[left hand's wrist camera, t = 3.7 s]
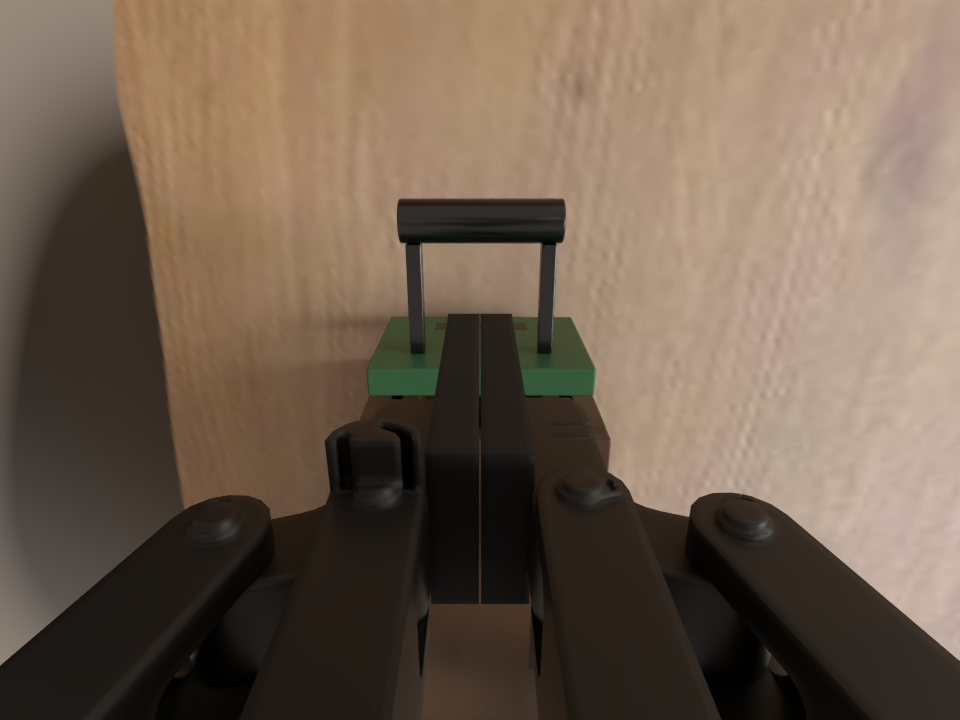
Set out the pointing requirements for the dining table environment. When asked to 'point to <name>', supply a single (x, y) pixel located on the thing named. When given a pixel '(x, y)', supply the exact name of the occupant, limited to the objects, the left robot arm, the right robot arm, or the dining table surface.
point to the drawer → (540, 340)
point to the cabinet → (484, 635)
